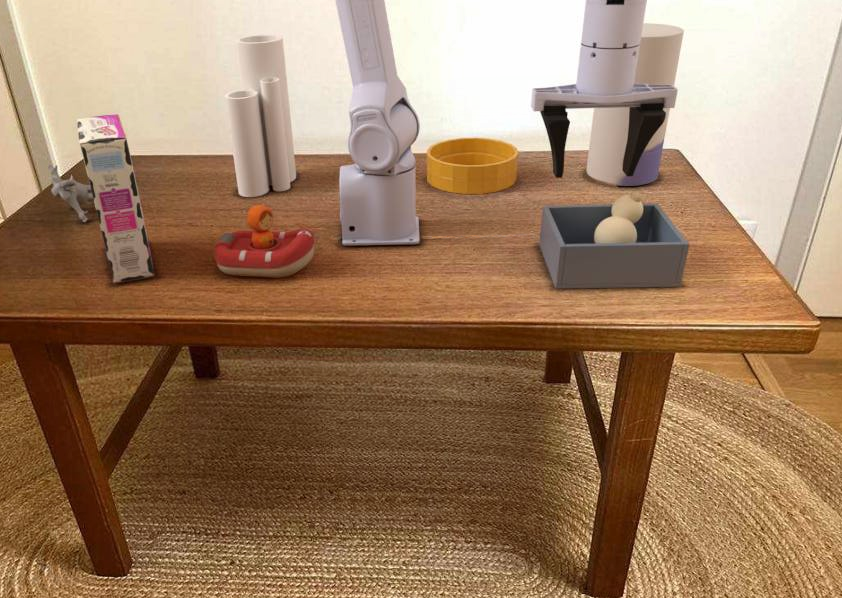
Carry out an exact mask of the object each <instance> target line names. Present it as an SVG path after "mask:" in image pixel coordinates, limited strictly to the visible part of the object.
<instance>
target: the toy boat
mask: <svg viewBox="0 0 842 598" xmlns="http://www.w3.org/2000/svg"><path fill="white" fill-rule="evenodd" d="M246 220H247V224H248V226H249V227H250V229H252V230H246V229H245V230H237V231H233V232H226V233H224V234H223V235H222V236H221V237H220V238H219V239H218V241H217V243H216V244H215V246H214V261H215V263H216V265H217V267H218V269H219V270H220V271H221V272H222V273H224V274H226V275H229V276H235V277H237V276H239V277H255V278H256V277H258V278H274V279H275V278H279V279H280V278H286V277H289V276H292V275H294V274H296V273H298V272H299V271H301V270H303V268H305V267H306V266H307V265H308V264H309V263H310V262H311V261H312V259H313V257H314V253H315V237H314V233H313V231H312V230H311V229H310V228H306V227H301V228H297V229H294V230H289V231H271V230H270V228H272V226H273V224H274V223H273V222H274V213H273V212H272V210H271V209H270V207H268V206H266V205H264V204H256V205H254V206H252V207H251V208H250V209H249V210H248V212H247V215H246Z"/></svg>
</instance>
